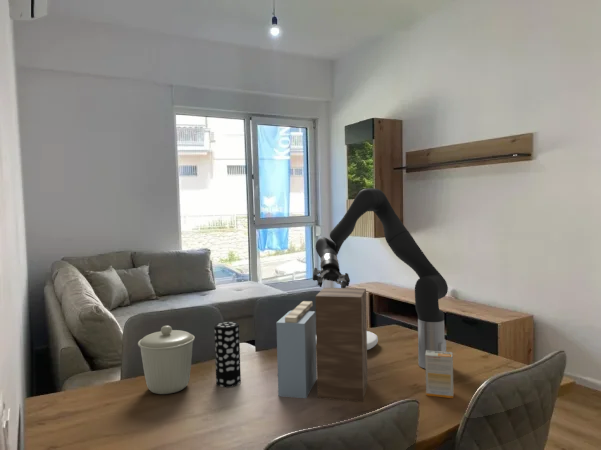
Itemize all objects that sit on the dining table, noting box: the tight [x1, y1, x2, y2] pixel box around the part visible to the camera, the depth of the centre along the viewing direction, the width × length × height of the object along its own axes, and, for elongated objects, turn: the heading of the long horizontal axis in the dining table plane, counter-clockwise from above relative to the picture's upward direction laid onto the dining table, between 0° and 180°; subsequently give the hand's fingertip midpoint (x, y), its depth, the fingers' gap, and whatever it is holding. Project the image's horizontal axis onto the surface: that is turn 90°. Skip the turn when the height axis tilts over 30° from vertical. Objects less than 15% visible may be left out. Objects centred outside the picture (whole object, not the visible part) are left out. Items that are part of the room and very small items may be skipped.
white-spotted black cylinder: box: [213, 320, 242, 388], centre depth 155 cm, size 8×8×20 cm
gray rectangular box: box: [275, 310, 317, 399], centre depth 149 cm, size 16×9×24 cm, turn 166°
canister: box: [137, 325, 195, 395], centre depth 151 cm, size 18×18×21 cm
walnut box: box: [315, 287, 368, 403], centre depth 145 cm, size 14×14×32 cm
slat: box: [285, 300, 314, 323], centre depth 153 cm, size 24×4×2 cm, turn 166°
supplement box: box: [425, 350, 454, 399], centre depth 141 cm, size 8×5×13 cm, turn 71°
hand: (332, 287), depth 171 cm, fingers open, 8 cm apart
